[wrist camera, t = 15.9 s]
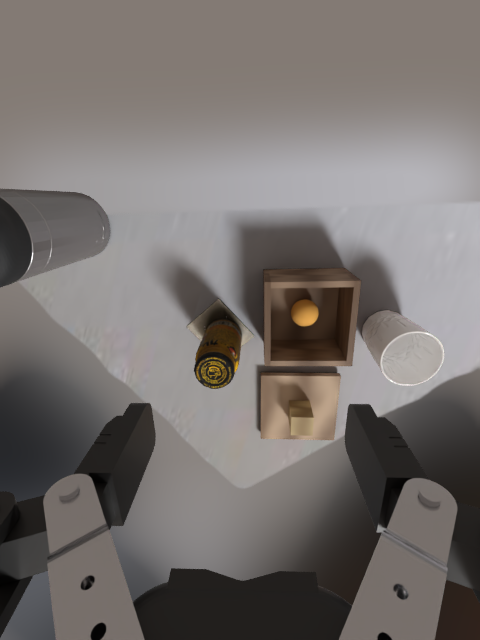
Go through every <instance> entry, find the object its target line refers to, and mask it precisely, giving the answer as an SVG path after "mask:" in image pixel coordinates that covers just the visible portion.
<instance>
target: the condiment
mask: <svg viewBox="0 0 480 640" xmlns="http://www.w3.org/2000/svg"><path fill="white" fill-rule="evenodd" d="M226 317H227V318H226ZM204 326H205V328H204ZM187 328H188V329H189V330H190V331H191V332H192V333H193V334H194V335H195V336H196V337H197V338H198V339H199V340H200V341H201V343H200V346H199V348H198V351H197V353H196V359H195V360H196V364H195V368H194V372H195V375H196V378H197V379H198V381H199V382H200V383H201V384H203V385H204V386H206V387H209V388H211V389H218V388H222V387H224V386H226V385H227V384H229V383H230V382H231V380H232V379H233V377H234V374H235V372H236V370H237V368H238V365H239V359H240V350H241V346H243V345H244V344H245V343H247V342H248V341H249V340H250V339H252V338H253V337H254V335H253V334H252V333H251V332H250V331H249V330H248V329H247V328H246V327H245V326H244V324H243V323H242V322H240V320H239V319H238V318H237V317H236V316H235V315H234V314H233V313H232V312H231V311H230V310H229V309H228V308H227V307H226V306H225V305H224V304H223V303H222V302H221V301H220V300H219V299H218V300H217V301H216V302H214V303H213V304H212V305H211V306H210V307H209V308H207V309H206V310H205V311H204V312H203V313H202V314H200V315H199V316H198V317H197V318H196V319H195V320H194V321H192V322H191V323H190V324H189V325H188V326H187ZM205 329H206V330H205Z"/></svg>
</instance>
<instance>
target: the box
mask: <svg viewBox="0 0 480 640" xmlns="http://www.w3.org/2000/svg"><path fill="white" fill-rule="evenodd" d="M360 287H361V280H360V279H358V278H357V277H356V276H354V275H353V274H352V273H350V272H349V271H348V270H347V269H345V268H319V269H266V270H263V291H264V362H265V366H352V361H353V352H354V343H355V334H356V324H357V315H358V306H359V296H360ZM303 299H307V300H310V301H312V302H314V303H315V304H316V306H317V308H318V312H319V314H318V318H317V320H316V321H315V322H314V323H313V324H312V325H310V326H300V325H298V324H296V323H295V322H294V321H293V319H292V317H291V309H292V307H293V305H294V304H295V303H296V302H297V301H299V300H303Z"/></svg>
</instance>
